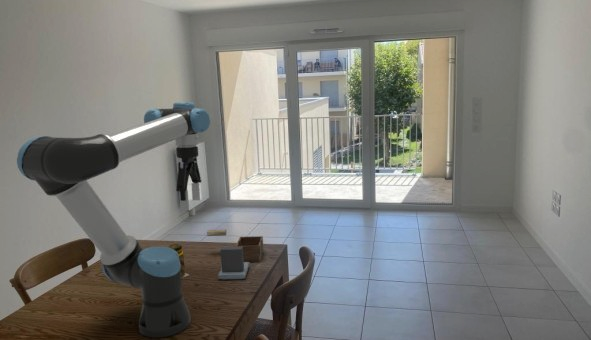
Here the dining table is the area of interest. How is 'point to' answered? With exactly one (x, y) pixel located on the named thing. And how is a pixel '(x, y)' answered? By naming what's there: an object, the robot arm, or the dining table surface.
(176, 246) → the condiment
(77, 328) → the dining table surface
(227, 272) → the grey slotted stand
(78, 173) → the robot arm
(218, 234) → the key
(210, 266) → the dining table surface
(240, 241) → the open wooden box
